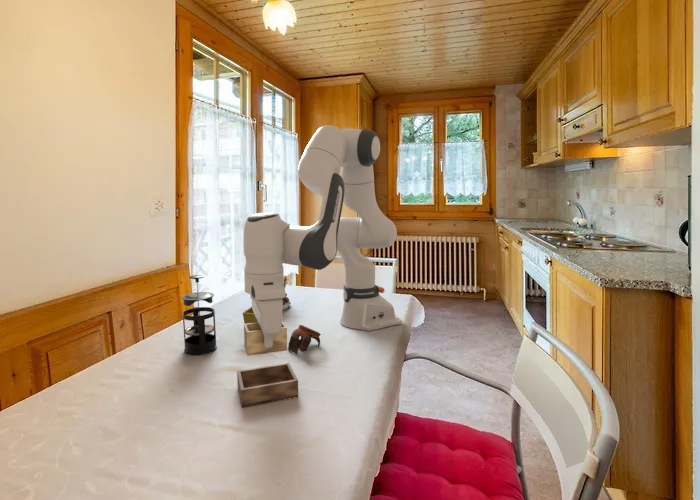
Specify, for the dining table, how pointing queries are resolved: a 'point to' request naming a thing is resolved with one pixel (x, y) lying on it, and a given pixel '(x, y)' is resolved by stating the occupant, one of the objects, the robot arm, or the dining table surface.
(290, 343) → the pottery mug
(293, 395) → the big crate
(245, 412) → the dining table surface
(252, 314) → the flower pot
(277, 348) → the small crate
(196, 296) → the french press
